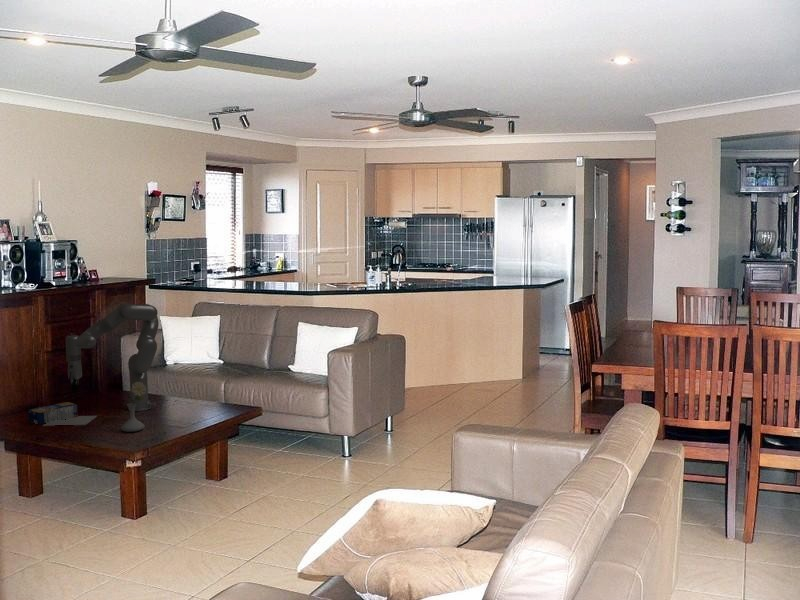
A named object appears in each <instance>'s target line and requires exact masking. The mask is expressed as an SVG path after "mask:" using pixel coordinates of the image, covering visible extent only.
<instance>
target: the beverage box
mask: <svg viewBox="0 0 800 600" xmlns="http://www.w3.org/2000/svg"><path fill="white" fill-rule="evenodd" d="M27 415H28V422H29V423H30V422H32V423H31V424H33V423H35V424H34V425H36V424H41V425H44V424H43V423H48V422H53V421H58V420H64V419H69V418H74V417H78V416H79V414H78V404H76V403H74V402H70V401H65V402H60V403H54V404H49V405H45V406H44V405H43V406H39V407H35V408H29V409H27Z"/></svg>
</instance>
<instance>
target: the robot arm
mask: <svg viewBox="0 0 800 600" xmlns="http://www.w3.org/2000/svg"><path fill="white" fill-rule="evenodd" d="M127 320H131V321H142V327H141V330H140V333H139V335H138V337H137V341H136V345H135V346H136V349H137V350H138V351H137V353H134V354H131V356H130V357H129V359H128V363H127V365H128V372H129V391H130V392H129V395H130V399H132V400H133V401H134V400H135V401H134V403H137V405H136V406H135V411H134V412H145V411H149V410H151V409H152V407H155V406H157V403H156V402H154V401H153V402H151V400H150V399H149V386H148V371H149V370H150V368H151V367H152V363H153V361H154V359H155V356H156V353H157V349H158V343H157V341H156V340H155V339H156V336H157V333H158V329H159V317H158V309H157V308H156V306H154V305H151V304H149V303H142V304H131V303H128V302H123V303H121V304H120V305H118V306H117V307H116V308H115V309H113V310H112V311H111V312H110V313H108V314H107V315H106V316H105V317H103V318H102V319H100V320H99V321H97V322H96V323H93V324H92V325H91V326H90V327H88V328H87V329H86V330H85V331H83V332H82V333H81V334H80V335H76V334H73V335H67V336H66V337H65V353H66V354H65V356H66V362H67V378H68V380H70V383H71V384H70V385H71V392H73V393H78V392H79V391H80V388H79V386H80V384H79V381H80V379H81V378H82V377H83V366H82V349H92V348H94V347H95V346H96V344H97V339H99V338H100V337H101V336H103V335H105V334H107V333H111V332H113V331H115V330H116V329H117V328H118V327H119V326H120V325H122V324H123V323H125V322H126V321H127ZM136 382H140V383H143V385H145V387H146V393H145V394H144V395H142V397H143V398H144V400H141V401H138V400H137V399H135V398H137V397H138V396H137V397H136V395H134V394H133V392H132V391H131V388H132V384H134V383H136ZM133 401H130V403H133ZM148 409H149V410H148ZM127 410H128V411H129V407H128V408H127Z"/></svg>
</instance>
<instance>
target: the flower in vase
mask: <svg viewBox="0 0 800 600" xmlns="http://www.w3.org/2000/svg"><path fill="white" fill-rule="evenodd" d="M131 391H132V392H133V394H134V395H136V397H137V396H138V397H137V398H135V399H137V400H138V401H141V400H144V398H143V397H142V395H144V394H145V393H146V387H145V385H143V383H140V382H136V383H134V384H132V388H131ZM126 400H127V401H129V403H126V406H127V407H128V408H129V410H128V411H129V418H128V420H127V421H125V422H124V423H123V424H122V425H121V427H120V430H121V431H123V432H128V433H129V432H130V433H131V432H138V431H141V430H143V429H144V428H145V424H144V423H142V422H141V421H139V420H138V419H137V418H136V416H135V412H136V411H135V406H136V405H137V403H134V401H135V400H134V401H133V400H132V399H131V398H129V397H126ZM131 401H133V403H131Z"/></svg>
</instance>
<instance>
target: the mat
mask: <svg viewBox="0 0 800 600" xmlns="http://www.w3.org/2000/svg"><path fill="white" fill-rule="evenodd" d="M97 417H98V415H78V417H74V418H69V419H66V420H65V419H64V420H58V421H53V422H48V423H46V424H41V425H42V427H56V426H55V425H74V426H86V425H87V424H89V423H90V422H92V421H93V420H94V419H95V418H97Z"/></svg>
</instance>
